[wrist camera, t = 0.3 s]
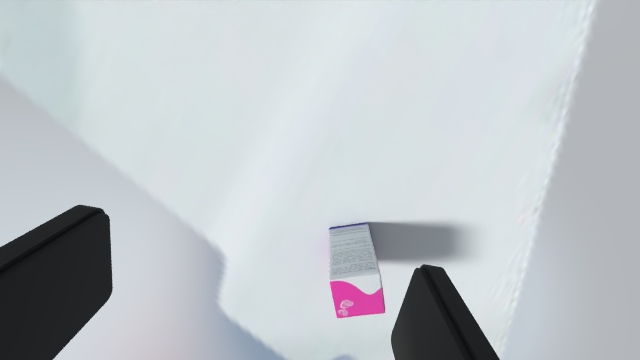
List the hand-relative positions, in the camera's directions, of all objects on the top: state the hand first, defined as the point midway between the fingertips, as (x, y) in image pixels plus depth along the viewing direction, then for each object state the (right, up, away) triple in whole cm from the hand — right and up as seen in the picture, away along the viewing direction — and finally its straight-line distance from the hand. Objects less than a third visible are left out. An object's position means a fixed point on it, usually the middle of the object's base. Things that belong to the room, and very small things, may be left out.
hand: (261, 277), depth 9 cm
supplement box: (+6, -6, +35) cm, 36 cm away
